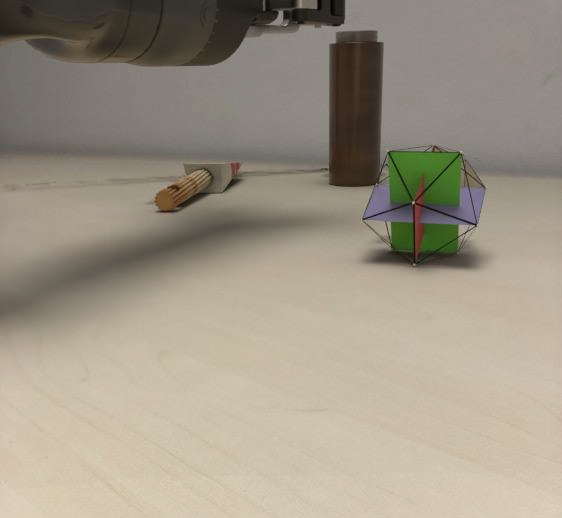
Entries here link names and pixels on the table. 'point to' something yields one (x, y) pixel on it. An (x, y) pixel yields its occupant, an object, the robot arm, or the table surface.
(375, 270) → the table surface
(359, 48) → the pepper mill
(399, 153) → the geometric puzzle
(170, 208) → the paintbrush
